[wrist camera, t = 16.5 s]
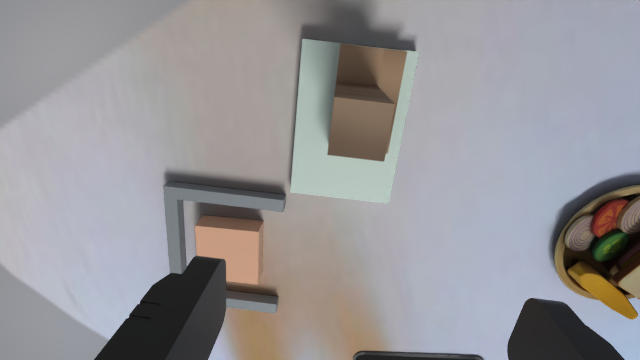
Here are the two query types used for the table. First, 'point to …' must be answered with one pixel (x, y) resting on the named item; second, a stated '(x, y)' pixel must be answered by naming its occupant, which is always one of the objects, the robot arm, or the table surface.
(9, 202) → the table surface
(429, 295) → the table surface
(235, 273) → the tile
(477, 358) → the smartphone
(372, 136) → the brown block
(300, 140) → the board
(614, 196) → the toy sandwich meal
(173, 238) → the bay
